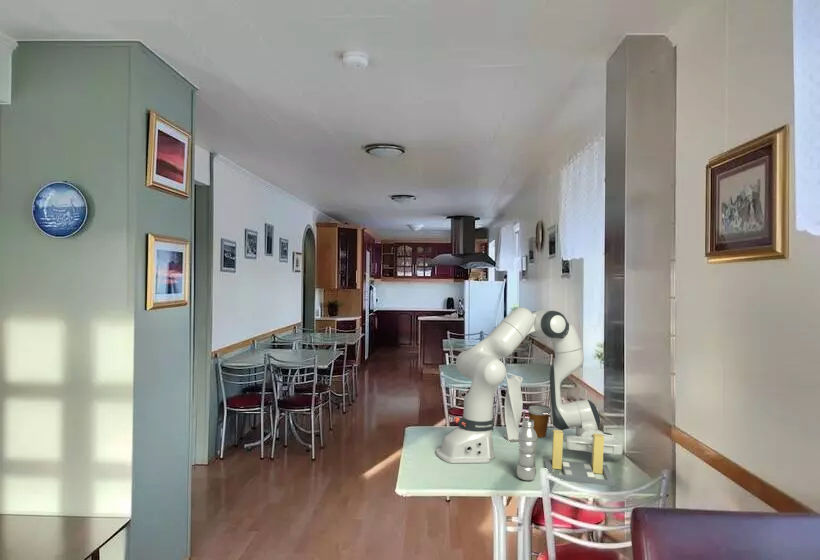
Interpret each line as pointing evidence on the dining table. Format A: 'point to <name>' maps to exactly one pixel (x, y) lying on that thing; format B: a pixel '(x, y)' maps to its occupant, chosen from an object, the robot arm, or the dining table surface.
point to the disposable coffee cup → (539, 419)
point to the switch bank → (581, 473)
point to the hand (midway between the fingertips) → (596, 451)
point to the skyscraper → (513, 408)
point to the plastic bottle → (527, 451)
